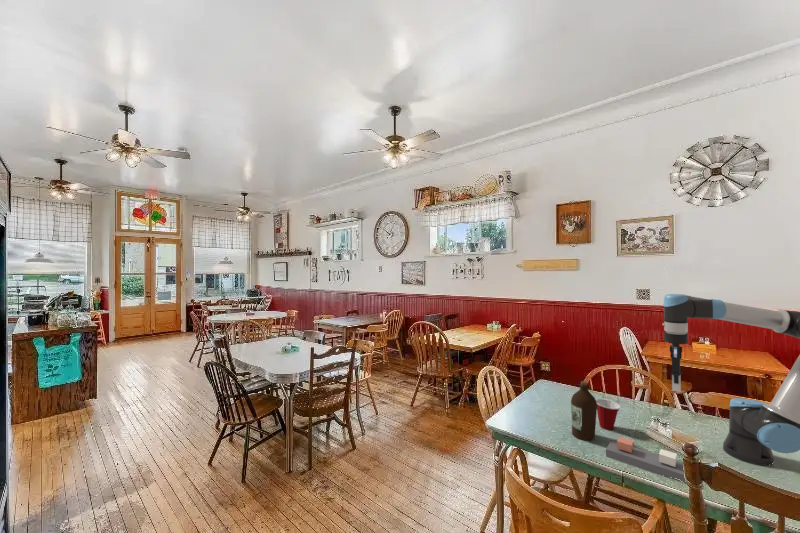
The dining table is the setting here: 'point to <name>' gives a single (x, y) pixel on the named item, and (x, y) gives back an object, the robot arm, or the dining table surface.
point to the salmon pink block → (625, 444)
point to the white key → (667, 457)
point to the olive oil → (583, 413)
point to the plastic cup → (607, 413)
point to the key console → (645, 461)
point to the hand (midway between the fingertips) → (676, 390)
